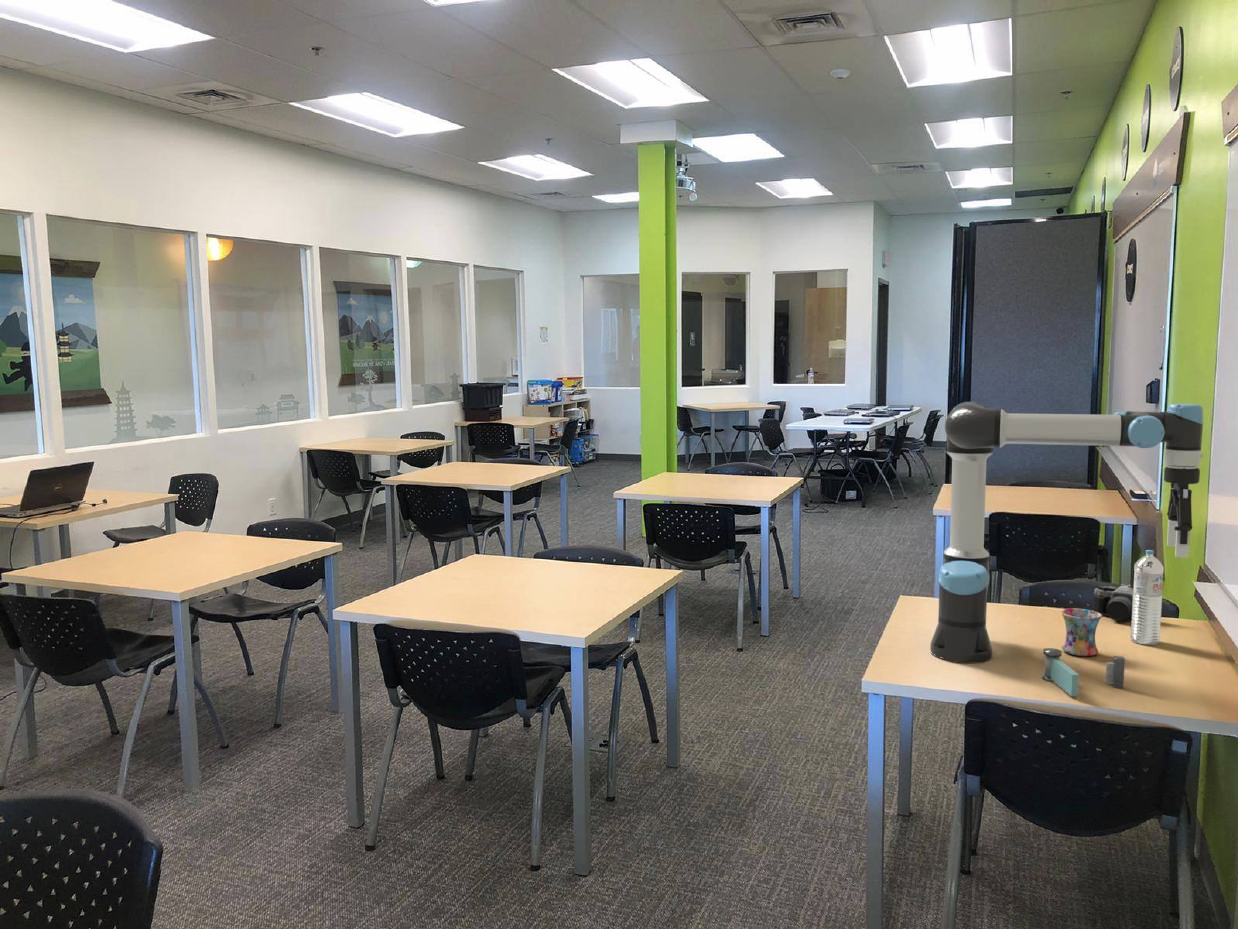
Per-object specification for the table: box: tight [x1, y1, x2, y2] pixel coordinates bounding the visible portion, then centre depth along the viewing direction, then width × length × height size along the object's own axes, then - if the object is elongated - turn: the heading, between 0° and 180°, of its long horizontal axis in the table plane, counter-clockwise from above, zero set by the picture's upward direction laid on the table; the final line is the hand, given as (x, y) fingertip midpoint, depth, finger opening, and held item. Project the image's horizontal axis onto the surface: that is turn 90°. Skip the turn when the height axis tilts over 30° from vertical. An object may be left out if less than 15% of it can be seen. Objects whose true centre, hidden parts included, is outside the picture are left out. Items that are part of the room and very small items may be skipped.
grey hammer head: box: [1042, 647, 1063, 683], centre depth 222 cm, size 4×4×7 cm
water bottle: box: [1130, 549, 1165, 646], centre depth 248 cm, size 7×7×25 cm
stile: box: [1105, 655, 1126, 689], centre depth 217 cm, size 3×3×7 cm
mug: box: [1061, 607, 1103, 657], centre depth 242 cm, size 12×9×11 cm
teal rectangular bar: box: [1044, 655, 1080, 697], centre depth 216 cm, size 14×3×5 cm, turn 177°
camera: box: [1092, 583, 1134, 622], centre depth 270 cm, size 16×10×10 cm, turn 49°
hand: (1177, 551), depth 231 cm, fingers open, 13 cm apart
